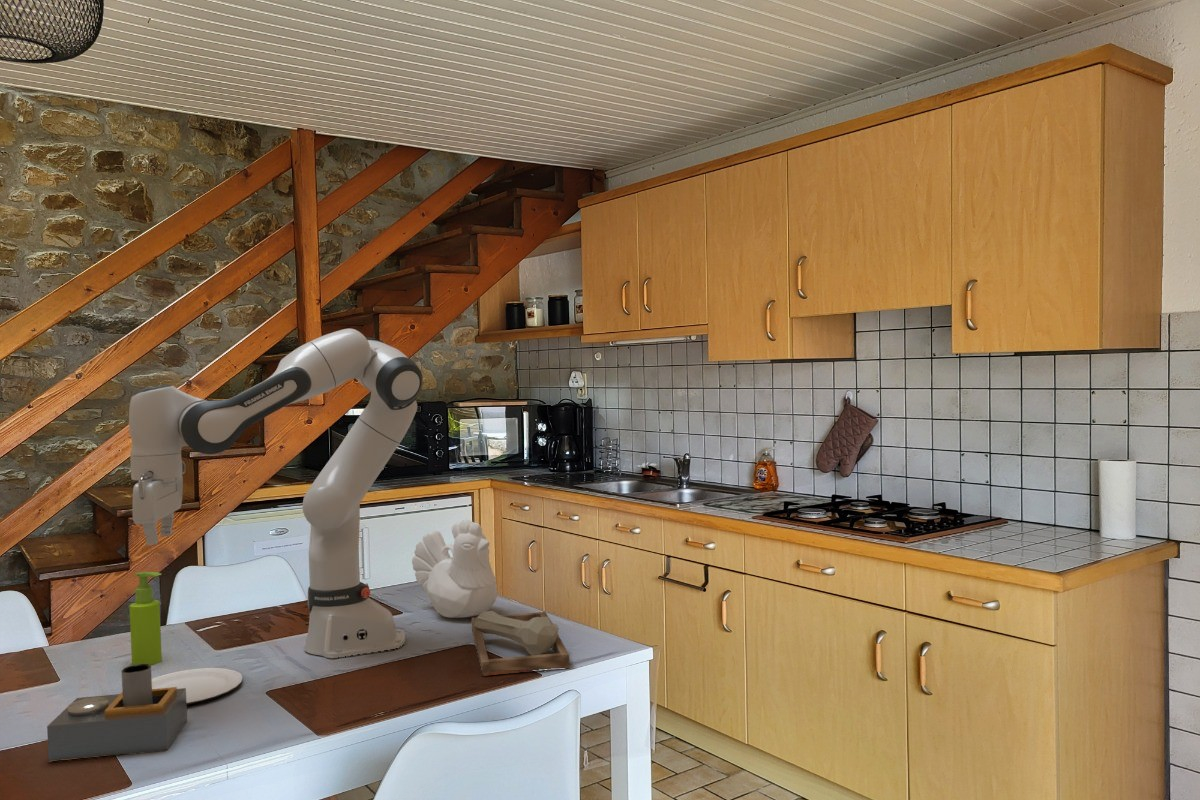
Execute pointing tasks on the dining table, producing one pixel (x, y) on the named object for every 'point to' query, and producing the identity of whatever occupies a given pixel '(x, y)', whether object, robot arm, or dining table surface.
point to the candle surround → (524, 662)
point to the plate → (200, 682)
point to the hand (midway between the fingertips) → (159, 540)
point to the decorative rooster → (456, 571)
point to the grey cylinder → (137, 685)
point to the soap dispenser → (145, 623)
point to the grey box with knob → (117, 725)
